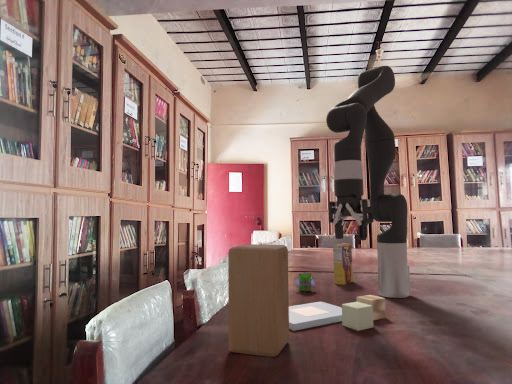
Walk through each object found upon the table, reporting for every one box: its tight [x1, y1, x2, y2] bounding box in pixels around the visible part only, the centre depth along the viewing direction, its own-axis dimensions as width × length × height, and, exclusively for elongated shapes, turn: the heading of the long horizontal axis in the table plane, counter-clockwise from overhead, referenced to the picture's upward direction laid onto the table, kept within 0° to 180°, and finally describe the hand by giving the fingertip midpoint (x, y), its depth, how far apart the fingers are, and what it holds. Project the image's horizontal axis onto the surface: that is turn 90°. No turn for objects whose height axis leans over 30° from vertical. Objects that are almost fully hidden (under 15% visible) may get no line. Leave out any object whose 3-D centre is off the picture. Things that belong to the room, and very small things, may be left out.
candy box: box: [332, 242, 354, 286], centre depth 143 cm, size 9×4×15 cm, turn 141°
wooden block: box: [227, 243, 290, 358], centre depth 73 cm, size 10×10×20 cm
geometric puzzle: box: [294, 271, 316, 293], centre depth 127 cm, size 7×7×8 cm
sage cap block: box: [341, 301, 374, 332], centre depth 86 cm, size 5×5×5 cm
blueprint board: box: [289, 301, 342, 332], centre depth 93 cm, size 20×14×2 cm
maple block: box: [356, 294, 387, 321], centre depth 94 cm, size 5×5×5 cm
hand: (350, 239), depth 96 cm, fingers open, 8 cm apart
